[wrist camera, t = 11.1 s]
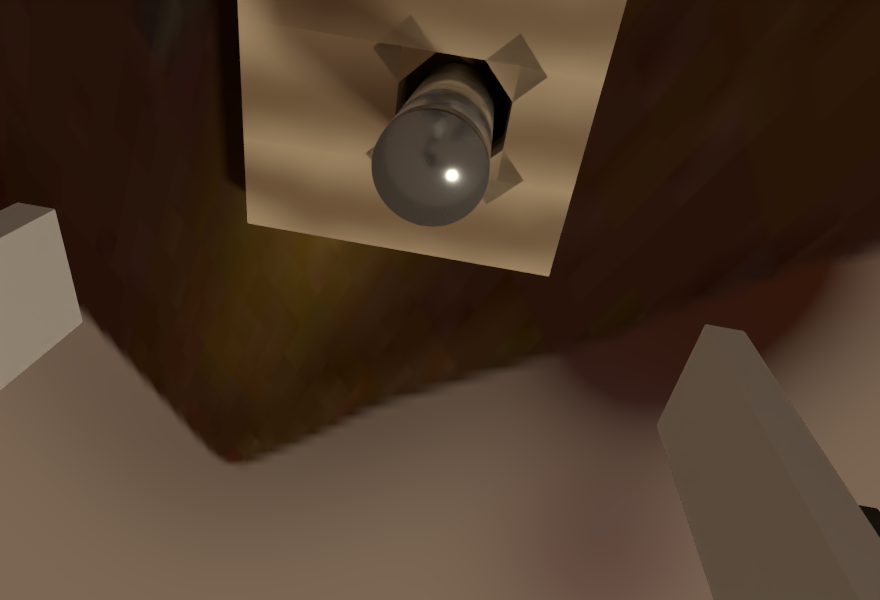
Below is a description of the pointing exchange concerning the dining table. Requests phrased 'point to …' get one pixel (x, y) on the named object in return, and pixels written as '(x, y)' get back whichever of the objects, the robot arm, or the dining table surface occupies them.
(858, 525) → the robot arm
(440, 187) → the grey metallic cylinder
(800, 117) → the dining table surface
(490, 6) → the jig
